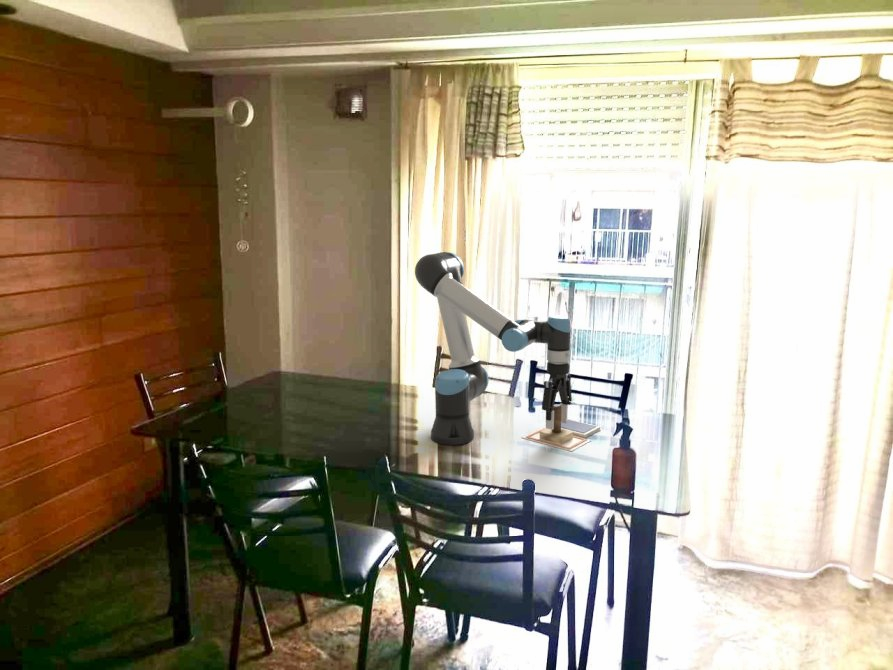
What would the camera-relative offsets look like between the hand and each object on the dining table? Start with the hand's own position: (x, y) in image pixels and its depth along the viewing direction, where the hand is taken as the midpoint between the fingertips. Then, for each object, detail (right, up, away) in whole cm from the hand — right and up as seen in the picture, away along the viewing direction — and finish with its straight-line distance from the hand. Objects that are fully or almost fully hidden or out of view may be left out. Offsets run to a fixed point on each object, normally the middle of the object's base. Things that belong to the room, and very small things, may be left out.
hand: (556, 425), depth 229 cm
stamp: (0, -5, +1) cm, 5 cm away
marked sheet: (0, -5, +1) cm, 5 cm away
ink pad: (+9, -3, +11) cm, 14 cm away
